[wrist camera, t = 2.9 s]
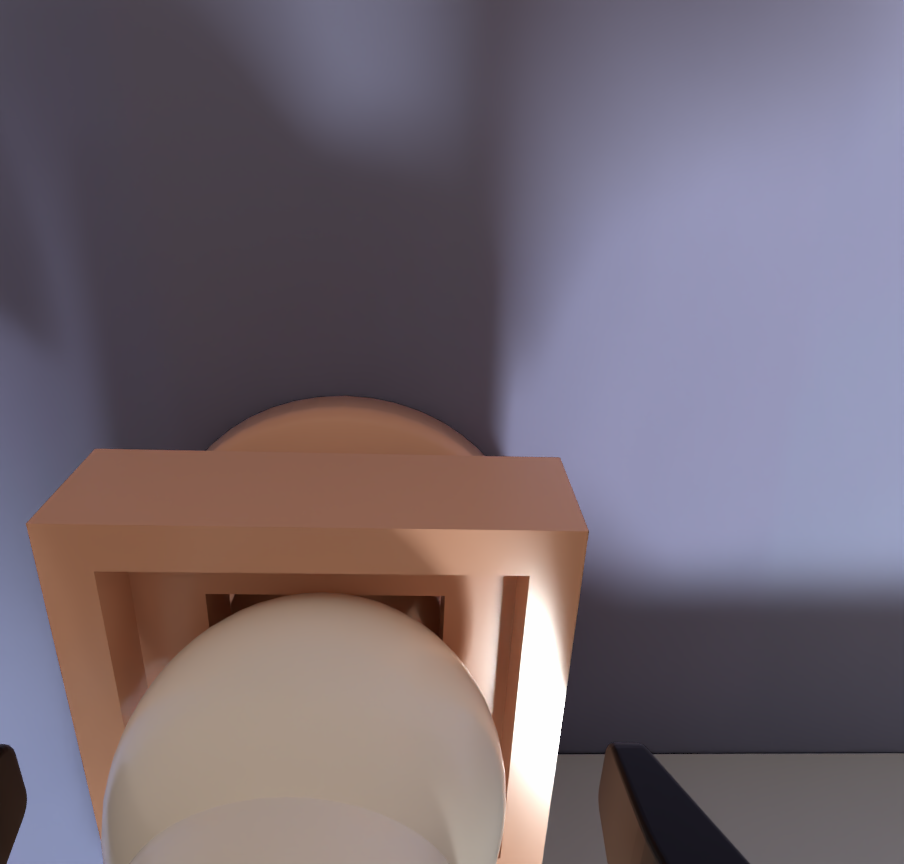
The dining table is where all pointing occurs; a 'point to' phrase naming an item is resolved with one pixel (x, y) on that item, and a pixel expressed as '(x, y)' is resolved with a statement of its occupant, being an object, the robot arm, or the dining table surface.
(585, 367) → the dining table surface
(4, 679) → the dining table surface
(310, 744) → the egg
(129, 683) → the egg cup
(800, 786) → the egg carton
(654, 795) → the robot arm
